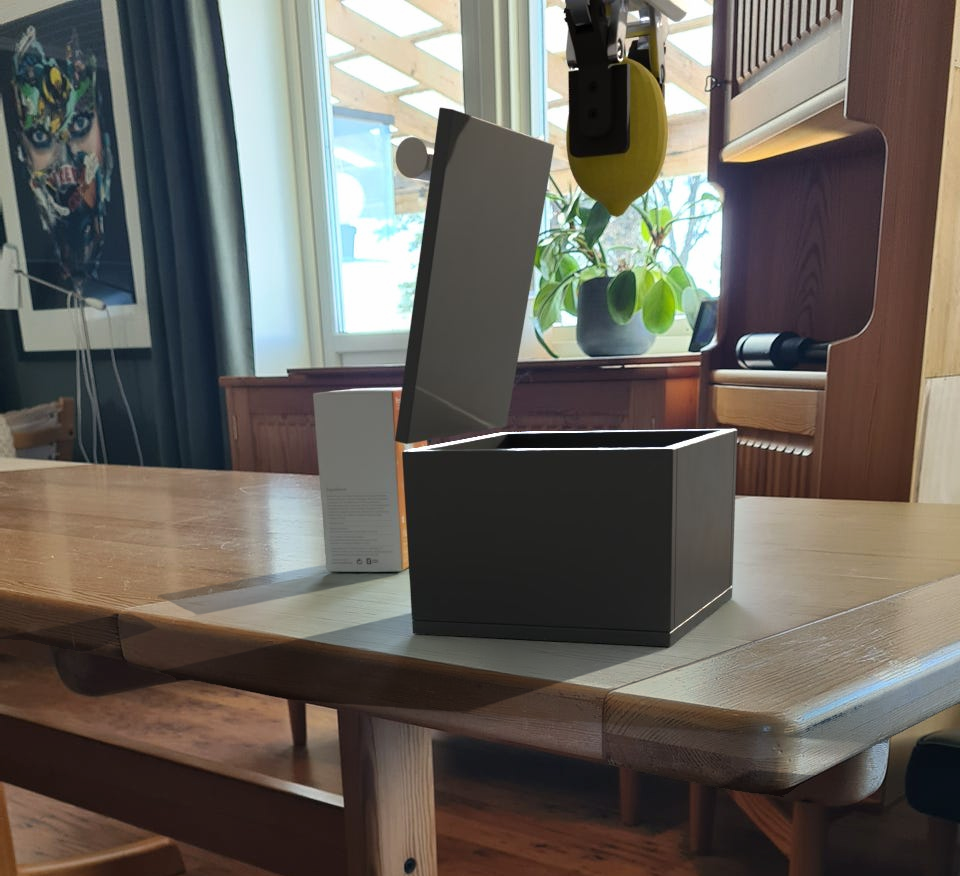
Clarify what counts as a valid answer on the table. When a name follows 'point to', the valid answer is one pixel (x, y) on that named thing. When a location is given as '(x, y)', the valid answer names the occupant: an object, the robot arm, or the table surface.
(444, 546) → the chest
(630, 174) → the lemon
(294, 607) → the table surface
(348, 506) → the small box
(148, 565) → the table surface
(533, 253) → the lid
